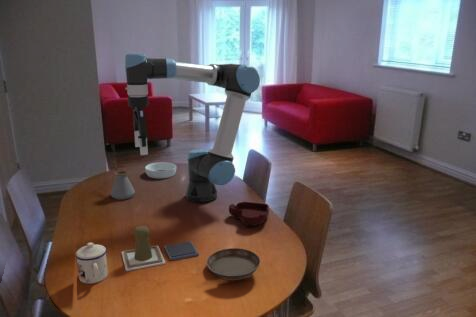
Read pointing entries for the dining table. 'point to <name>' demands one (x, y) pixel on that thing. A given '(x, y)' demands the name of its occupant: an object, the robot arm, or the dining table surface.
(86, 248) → the teacup with lid
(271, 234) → the dining table surface
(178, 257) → the ink pad
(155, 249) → the board
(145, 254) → the olive knob handle
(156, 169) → the cereal bowl
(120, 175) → the coffee pot
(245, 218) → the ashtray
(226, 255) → the plant saucer
